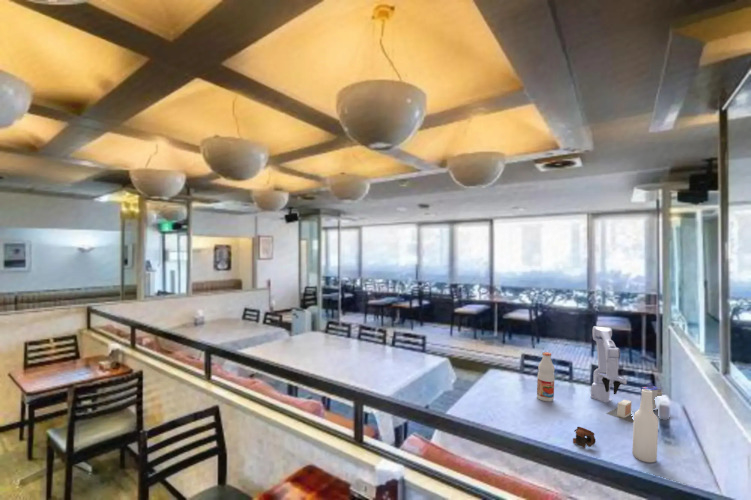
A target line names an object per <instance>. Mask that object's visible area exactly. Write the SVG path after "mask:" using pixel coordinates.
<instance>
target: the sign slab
mask: <svg viewBox="0 0 751 500" xmlns="http://www.w3.org/2000/svg"><path fill="white" fill-rule="evenodd" d="M617 407H618V410H617V416H620V417H623V418H625V417H627V416H629V415H630V414H631V411H632V401H631V400H627V399H622V400H621V401H619V402H617Z"/></svg>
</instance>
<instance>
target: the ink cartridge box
mask: <svg viewBox="0 0 751 500" xmlns="http://www.w3.org/2000/svg"><path fill="white" fill-rule="evenodd" d="M646 385H647V386H642V387H641V386H640V396H641V395H642V393H641V392H642V391H641V390H642V389H648V390H651V391H652V392H653V393H652V405H653V409H655V408H656V405H655V400H654V399H655V397H657V396H662V397H663V389H662V388H660V387H657V386H654V385H653V383H652V382H647V383H646Z"/></svg>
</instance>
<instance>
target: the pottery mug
mask: <svg viewBox="0 0 751 500" xmlns="http://www.w3.org/2000/svg"><path fill="white" fill-rule="evenodd" d="M573 432H575V437H573V438H572V443H573V444H575V445H577V446H580V447H581V448H586V446H587V447H589V448H590V447H592V446H593V445H595V443H596V438H595V432H593V431H592V430H589V429H588V428H585V427H581V426H577V427H576V429H574V430H573Z"/></svg>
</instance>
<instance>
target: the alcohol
mask: <svg viewBox="0 0 751 500" xmlns="http://www.w3.org/2000/svg"><path fill="white" fill-rule="evenodd" d="M641 391H642V392H641ZM641 393H642V395H641ZM652 393H653V392H652V391H651V390H648V389H642V390H641V389H640V404H639V408H638V410H636V411H635V414H634V423H632V424H633V427H632V428H633V429H632V450H631V451H632V452H631V453H632V455H633V457H634V458H635V459H637V460H638V461H640V462H644V463H648V464H649V463H650V464H654V463H655V462H657V460H658V459H657V458H658V441H659V440H658V434H659V419H658V416H657V415H656V414H655V413H654V411H653V405H652Z"/></svg>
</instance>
